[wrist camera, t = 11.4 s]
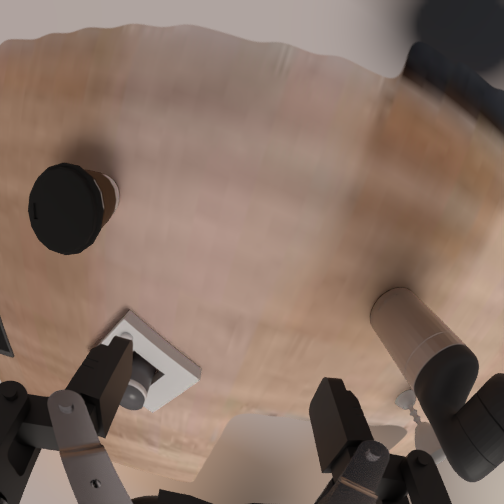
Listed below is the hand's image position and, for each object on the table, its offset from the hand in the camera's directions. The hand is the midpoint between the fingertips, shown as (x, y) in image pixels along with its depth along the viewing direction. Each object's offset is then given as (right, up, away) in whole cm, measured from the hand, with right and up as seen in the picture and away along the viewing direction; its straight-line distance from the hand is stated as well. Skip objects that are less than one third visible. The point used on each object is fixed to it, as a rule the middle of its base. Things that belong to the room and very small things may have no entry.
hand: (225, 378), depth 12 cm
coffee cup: (-21, +13, +29) cm, 38 cm away
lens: (-18, -14, +38) cm, 44 cm away
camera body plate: (-18, -14, +38) cm, 44 cm away
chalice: (+35, -27, +43) cm, 62 cm away
